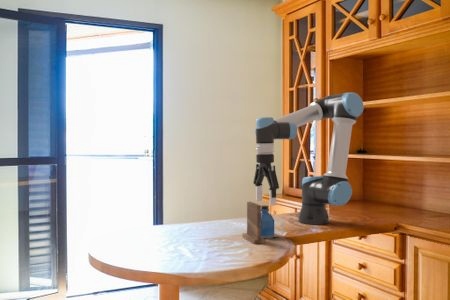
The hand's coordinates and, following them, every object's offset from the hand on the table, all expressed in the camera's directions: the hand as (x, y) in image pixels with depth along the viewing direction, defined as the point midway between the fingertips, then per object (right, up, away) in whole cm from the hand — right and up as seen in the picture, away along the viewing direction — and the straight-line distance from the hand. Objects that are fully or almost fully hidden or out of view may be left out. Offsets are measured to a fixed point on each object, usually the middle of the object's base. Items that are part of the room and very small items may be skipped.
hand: (265, 203), depth 169 cm
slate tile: (0, -14, 0) cm, 14 cm away
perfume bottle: (0, -13, 0) cm, 13 cm away
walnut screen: (-6, -14, -7) cm, 17 cm away
